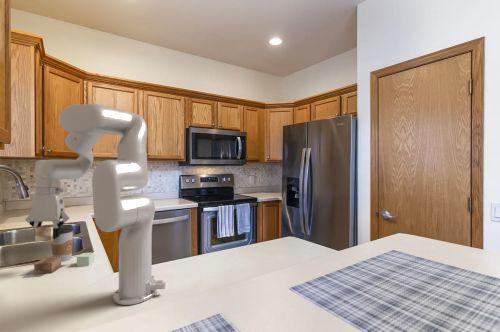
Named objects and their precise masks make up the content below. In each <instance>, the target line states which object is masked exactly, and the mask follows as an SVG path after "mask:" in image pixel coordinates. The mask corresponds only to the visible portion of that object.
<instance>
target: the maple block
mask: <svg viewBox="0 0 500 332" xmlns="http://www.w3.org/2000/svg"><path fill="white" fill-rule="evenodd" d="M54 228H55V227H54V225H53V224H43V225H41V226H40V227H37V228H35V229H34V242H51V241H52V240H54V239H53V229H54ZM59 237H60V236H59ZM59 237H58V238H59Z"/></svg>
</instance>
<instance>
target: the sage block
mask: <svg viewBox="0 0 500 332" xmlns="http://www.w3.org/2000/svg"><path fill="white" fill-rule="evenodd" d="M93 263H95V253H94V252H82V253H81V254H79V255H77V256H76V267H77V268H78V267H79V268H81V267H82V268H83V267H89V266H91V265H92V264H93Z"/></svg>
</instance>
